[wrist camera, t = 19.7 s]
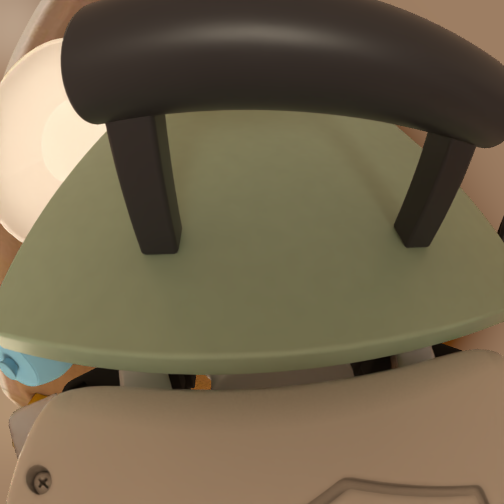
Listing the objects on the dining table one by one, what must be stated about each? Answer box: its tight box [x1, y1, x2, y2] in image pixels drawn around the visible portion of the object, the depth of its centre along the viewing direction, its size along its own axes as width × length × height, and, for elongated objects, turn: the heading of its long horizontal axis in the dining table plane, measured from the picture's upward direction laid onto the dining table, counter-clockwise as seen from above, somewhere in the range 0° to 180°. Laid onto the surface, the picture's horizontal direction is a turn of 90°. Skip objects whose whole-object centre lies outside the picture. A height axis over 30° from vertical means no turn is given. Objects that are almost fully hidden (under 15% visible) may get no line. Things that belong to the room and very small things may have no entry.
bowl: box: [0, 38, 107, 242], centre depth 20 cm, size 20×20×7 cm
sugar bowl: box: [0, 346, 73, 386], centre depth 27 cm, size 15×15×12 cm
